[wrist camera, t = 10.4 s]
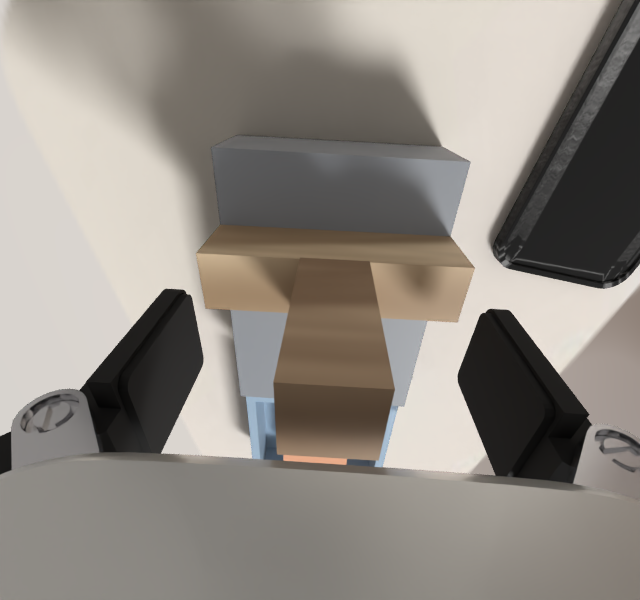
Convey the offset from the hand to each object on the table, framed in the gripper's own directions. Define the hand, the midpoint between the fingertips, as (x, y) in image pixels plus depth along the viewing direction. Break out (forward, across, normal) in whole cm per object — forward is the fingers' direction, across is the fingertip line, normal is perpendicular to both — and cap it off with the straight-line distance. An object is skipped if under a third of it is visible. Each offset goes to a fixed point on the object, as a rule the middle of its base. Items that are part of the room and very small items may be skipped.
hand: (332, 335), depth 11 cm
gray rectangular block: (+9, 0, +2) cm, 9 cm away
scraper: (+5, 0, 0) cm, 5 cm away
